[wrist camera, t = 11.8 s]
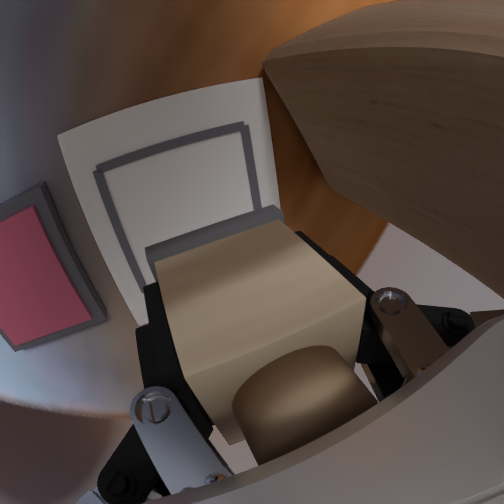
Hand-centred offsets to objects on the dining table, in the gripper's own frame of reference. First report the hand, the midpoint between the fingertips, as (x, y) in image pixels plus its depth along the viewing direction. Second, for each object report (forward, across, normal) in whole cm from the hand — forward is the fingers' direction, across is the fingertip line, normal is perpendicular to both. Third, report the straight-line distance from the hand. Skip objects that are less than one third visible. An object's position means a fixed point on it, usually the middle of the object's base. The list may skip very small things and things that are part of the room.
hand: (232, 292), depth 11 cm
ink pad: (+7, +11, 0) cm, 13 cm away
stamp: (+1, 0, 0) cm, 1 cm away
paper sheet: (+7, 0, 0) cm, 7 cm away
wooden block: (+7, -11, -5) cm, 15 cm away
